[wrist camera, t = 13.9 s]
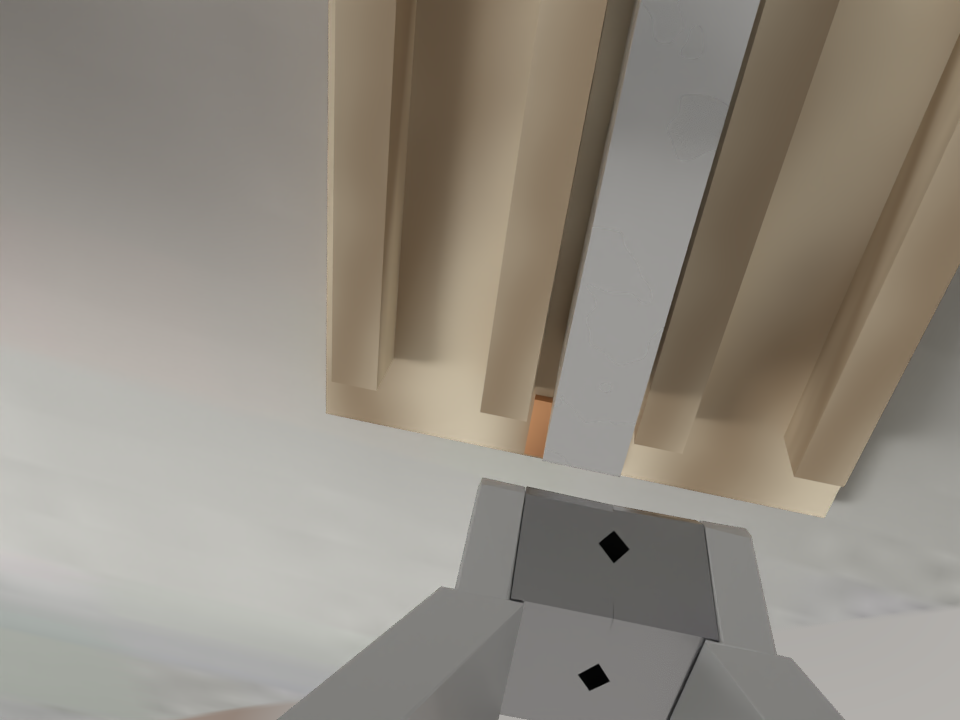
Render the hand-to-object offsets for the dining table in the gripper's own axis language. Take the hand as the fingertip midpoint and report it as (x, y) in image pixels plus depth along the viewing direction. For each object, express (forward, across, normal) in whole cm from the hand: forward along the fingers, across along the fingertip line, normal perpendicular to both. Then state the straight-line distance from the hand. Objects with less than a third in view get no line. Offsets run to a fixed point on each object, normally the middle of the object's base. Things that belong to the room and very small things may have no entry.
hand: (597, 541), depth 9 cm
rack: (+15, -1, 0) cm, 16 cm away
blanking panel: (+14, -1, 0) cm, 15 cm away
